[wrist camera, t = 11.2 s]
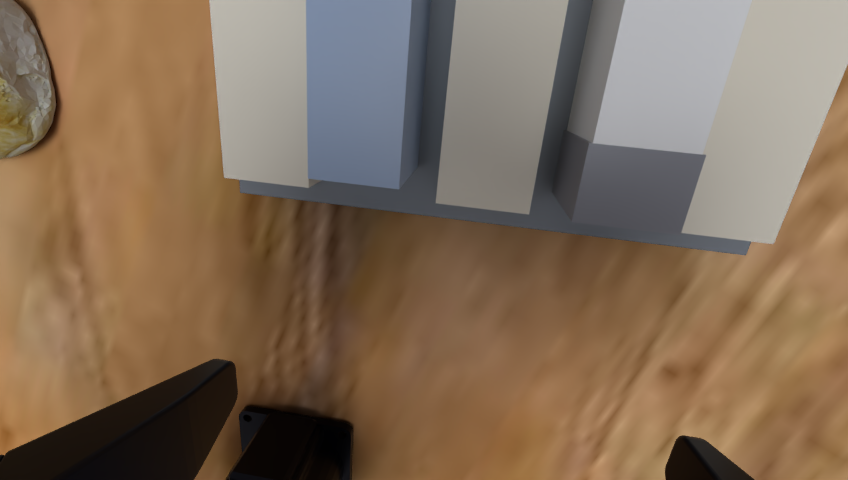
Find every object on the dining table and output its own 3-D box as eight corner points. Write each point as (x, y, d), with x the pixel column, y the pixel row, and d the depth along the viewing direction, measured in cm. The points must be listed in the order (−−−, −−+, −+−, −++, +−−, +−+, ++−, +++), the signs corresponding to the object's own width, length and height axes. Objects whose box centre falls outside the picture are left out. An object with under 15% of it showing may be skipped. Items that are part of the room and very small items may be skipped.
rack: (731, 246, 17) (770, 270, 15) (252, 187, 19) (220, 201, 17) (895, -191, 12) (990, -256, 10) (228, -210, 14) (179, -267, 12)
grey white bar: (617, -136, 13) (672, -227, 9) (726, -131, 13) (829, -223, 9) (551, 191, 17) (571, 221, 13) (635, 201, 16) (680, 235, 13)
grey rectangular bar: (419, 167, 17) (401, 189, 13) (343, 158, 17) (304, 178, 14) (447, -158, 13) (433, -254, 10) (349, -162, 14) (298, -256, 10)
